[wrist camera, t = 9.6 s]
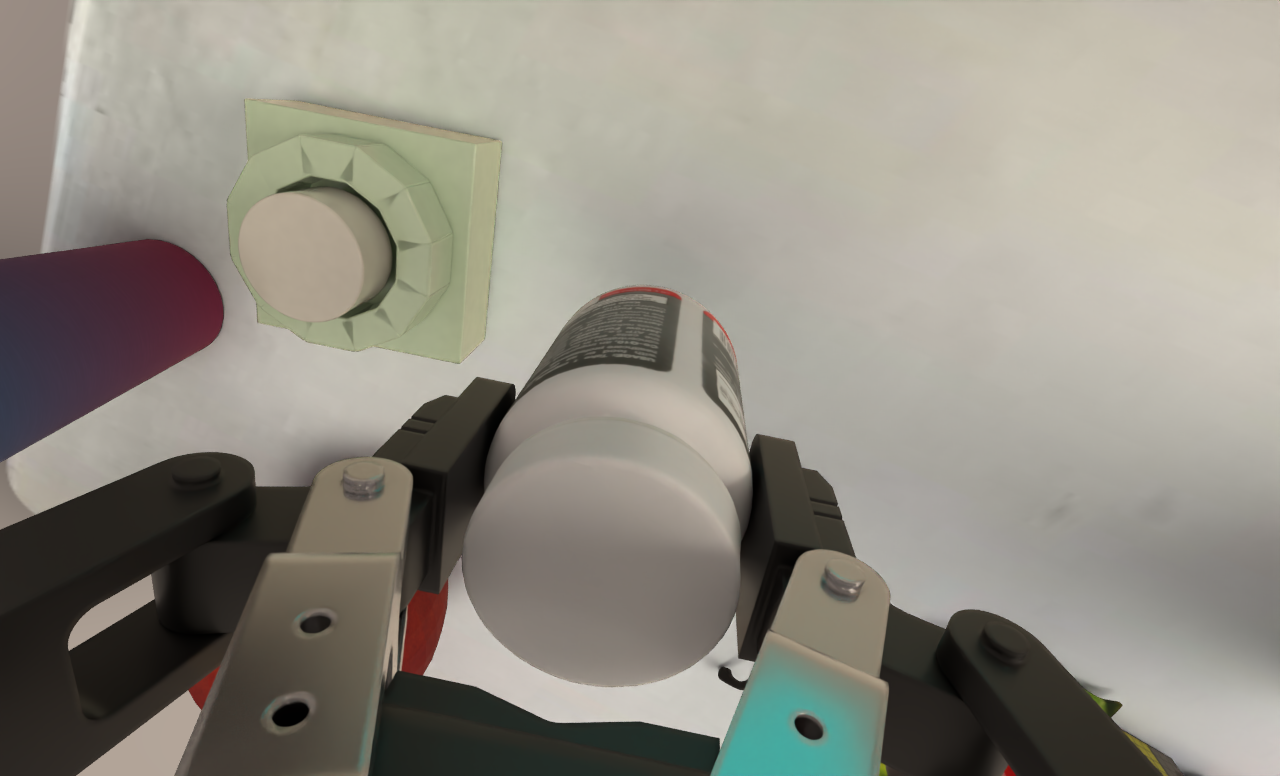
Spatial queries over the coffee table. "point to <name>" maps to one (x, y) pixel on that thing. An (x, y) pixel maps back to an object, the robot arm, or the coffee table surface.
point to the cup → (94, 329)
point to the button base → (385, 219)
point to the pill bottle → (617, 496)
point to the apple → (418, 645)
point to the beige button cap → (314, 252)
